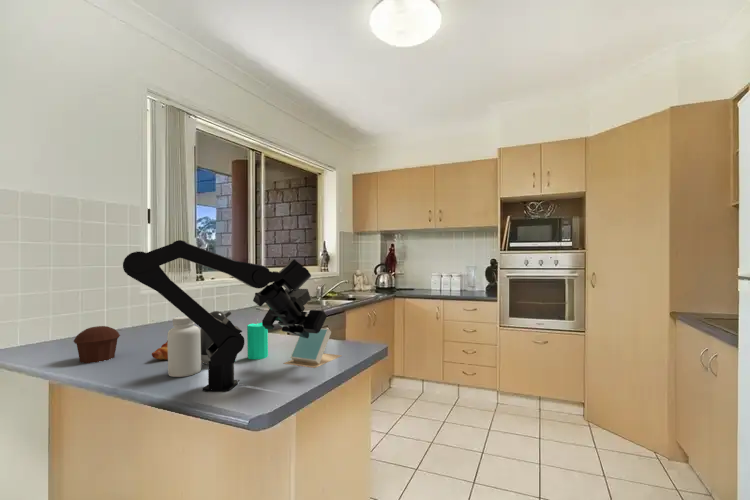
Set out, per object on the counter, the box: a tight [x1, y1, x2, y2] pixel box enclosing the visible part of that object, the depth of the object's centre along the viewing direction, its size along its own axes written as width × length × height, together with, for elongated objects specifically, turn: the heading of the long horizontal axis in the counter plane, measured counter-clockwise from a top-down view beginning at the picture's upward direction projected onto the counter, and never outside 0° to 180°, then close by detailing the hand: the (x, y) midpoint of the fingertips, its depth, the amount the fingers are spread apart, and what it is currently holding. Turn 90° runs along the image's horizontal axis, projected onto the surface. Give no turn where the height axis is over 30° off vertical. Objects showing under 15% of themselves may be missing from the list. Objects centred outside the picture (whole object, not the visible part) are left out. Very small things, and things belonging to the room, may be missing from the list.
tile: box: [289, 327, 332, 364], centre depth 110 cm, size 2×9×10 cm
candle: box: [246, 318, 269, 360], centre depth 115 cm, size 6×6×12 cm
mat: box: [283, 353, 343, 369], centre depth 111 cm, size 14×11×1 cm
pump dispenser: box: [200, 310, 232, 366], centre depth 111 cm, size 10×10×15 cm
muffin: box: [73, 325, 121, 364], centre depth 118 cm, size 12×11×10 cm
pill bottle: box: [167, 315, 202, 378], centre depth 101 cm, size 8×8×15 cm
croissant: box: [151, 339, 168, 361], centre depth 122 cm, size 21×10×8 cm, turn 157°
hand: (307, 336), depth 108 cm, fingers closed
